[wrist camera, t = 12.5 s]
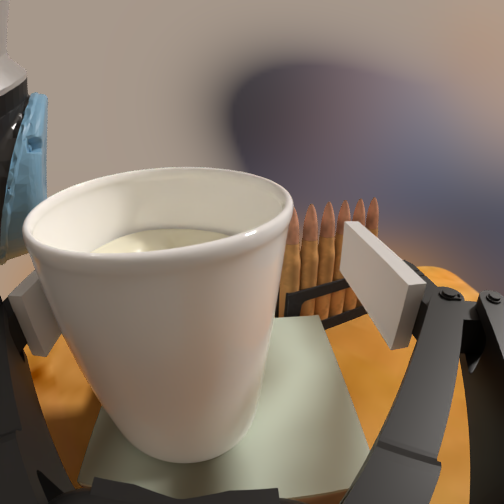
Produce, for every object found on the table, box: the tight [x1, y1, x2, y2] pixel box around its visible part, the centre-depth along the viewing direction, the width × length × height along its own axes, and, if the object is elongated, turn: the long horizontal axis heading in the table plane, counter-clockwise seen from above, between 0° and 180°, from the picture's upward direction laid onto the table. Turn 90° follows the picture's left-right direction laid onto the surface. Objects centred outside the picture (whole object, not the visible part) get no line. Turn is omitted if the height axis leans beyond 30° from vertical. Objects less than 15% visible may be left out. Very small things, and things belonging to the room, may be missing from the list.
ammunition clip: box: [275, 197, 379, 330], centre depth 27 cm, size 11×2×12 cm, turn 114°
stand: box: [77, 315, 370, 504], centre depth 18 cm, size 15×15×3 cm
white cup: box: [22, 167, 293, 463], centre depth 13 cm, size 10×10×12 cm
